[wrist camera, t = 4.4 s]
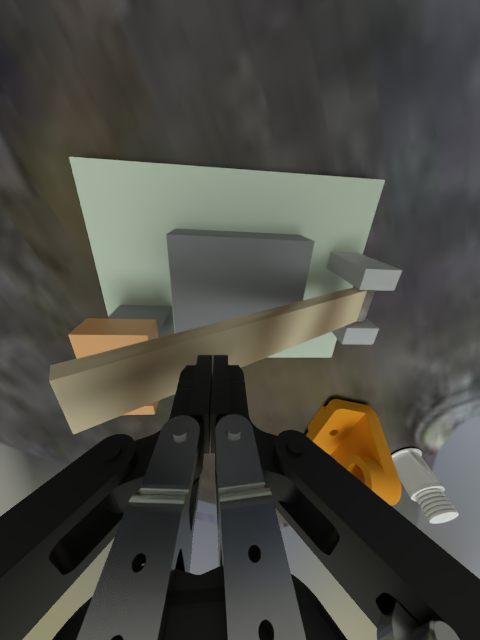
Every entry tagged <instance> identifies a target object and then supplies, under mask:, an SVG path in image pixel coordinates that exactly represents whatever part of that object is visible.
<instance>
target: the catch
mask: <svg viewBox="0 0 480 640" xmlns="http://www.w3.org/2000/svg"><path fill="white" fill-rule="evenodd" d="M68 335H69V338H70V341H71V344H72V346H73V349H74V352H75V355H76V358H77V359H78V358H82V357H86V356H90V355H94V354H97V353H101V352H105V351H109V350H113V349H117V348H121V347H125V346H128V345H132V344H136V343H140V342H144V341H148V340H152V339H156V338H159V336H158V328H157V321H156V320H154V319H91V318H87V319H86V320H84V321H83V322H82V323H81V324H80V325H79V326H78V327H76V328H75V329H74V330H73V331H72V332H71V333H70V334H68ZM158 403H159V400H158V401H156V402H153V403H151V404H148V405H146V406H143V407H141V408H138V409H136V410H133V411H131V412H128V413H126V414H123V415H144V414H155V412H156V409H157V406H158Z"/></svg>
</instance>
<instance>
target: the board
mask: <svg viewBox="0 0 480 640" xmlns="http://www.w3.org/2000/svg"><path fill="white" fill-rule="evenodd" d="M69 159H70V163H71V167H72V171H73V175H74V179H75V183H76V187H77V192H78V196H79V200H80V204H81V208H82V212H83V216H84V220H85V224H86V228H87V232H88V236H89V240H90V244H91V248H92V252H93V257H94V261H95V265H96V269H97V273H98V277H99V281H100V285H101V289H102V293H103V297H104V301H105V305H106V309H107V313H108V318H107V319H154V320H156V321H157V328H158V336H159V337H163V336H167V335H171V334H175V333H179V332H183V331H186V330H190V329H194V328H198V327H202V326H206V325H210V324H214V323H217V322H221V321H225V320H229V319H233V318H237V317H241V316H245V315H248V314H252V313H256V312H260V311H264V310H268V309H272V308H276V307H279V306H283V305H287V304H291V303H295V302H299V301H303V300H307V299H310V298H314V297H318V296H322V295H326V294H330V293H334V292H337V291H341V290H345V289H349V288H353V286H355V287H356V288H358V289H359V290H387V291H394V290H395V287H396V285H397V282H398V280H399V277H400V275H401V272H402V270H400V269H398V268H395V267H393V266H390V265H388V264H385V263H382V262H380V261H377V260H375V259H372V258H370V257H367V256H365V255H363V251H364V248H365V245H366V241H367V238H368V235H369V232H370V228H371V225H372V222H373V218H374V215H375V212H376V209H377V205H378V202H379V199H380V195H381V192H382V189H383V185H384V182H385V180H379V179H365V178H352V177H338V176H324V175H311V174H297V173H284V172H270V171H257V170H243V169H229V168H216V167H202V166H189V165H175V164H161V163H148V162H134V161H121V160H107V159H94V158H80V157H69ZM378 330H379V328H378V327H377V326H375V325H374V324H373V323H372V322H370V321H369V320H368V319H367V318H365V321H362V322H358V321H356V322H354V323H351V324H349V325H346V326H344V327H341V328H339V329H336V330H334V331H331V332H329V333H326V334H324V335H321V336H319V337H316V338H314V339H311V340H309V341H306V342H304V343H301V344H299V345H296V346H294V347H291V348H289V349H286V350H284V351H281V352H279V353H276V354H274V355H271V356H269V357H332V354H333V350H334V347H335V344H336V340H337V339H338V340H339V341H340V342H341V344H373V343H374V340H375V338H376V335H377V333H378Z"/></svg>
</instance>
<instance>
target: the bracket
mask: <svg viewBox="0 0 480 640" xmlns="http://www.w3.org/2000/svg"><path fill="white" fill-rule="evenodd" d="M307 428H308V430H309V431H308V433H307V434H306V436H307V437H308V438H309V439H310V440H312V441H313V442H314V443H315V444H317V445H318V446H319V447H320V448H321V449H323V450H324V451H325V452H326V453H327V454H331V455H332V456H333V457H334V459H335V460H336V461H337V462H338V463H340V464H341V465H342V466H343V467H344V468H346V469H347V470H348V471H349V472H350V473H352V474H353V475H354V476H355V477H356V478H358V479H359V480H360V481H361V482H363V483H364V484H365V485H366V486H367V487H369V488H370V489H371V490H372V491H373V492H375V493H376V494H377V495H378V496H379V497H381V498H382V499H383V500H384V501H386V502H387V503H388V504H389V505H395V504H396V503H397V502H398V501H399V499H400V497H401V483H400V479H399V476H398V473H397V471H396V468H395V465H394V462H393V459H392V456H391V453H390V451H389V448H388V445H387V442H386V439H385V436H384V433H383V431H382V428H381V425H380V422H379V419H378V416H377V415H376V413H375V412H374V410H373V409H372V408H371V406H368V405H364V404H359V403H354V402H349V401H345V400H340V399H333V400H331V401H330V402H329V403H328V405H327V406H324V405H322V407H321V408H320V409H319V411H318V412H317V414H316V415H315V417H314V418H313V419H312V421H311V422H310V424H309V425H308V427H307Z"/></svg>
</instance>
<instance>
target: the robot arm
mask: <svg viewBox="0 0 480 640" xmlns="http://www.w3.org/2000/svg"><path fill="white" fill-rule="evenodd" d="M210 427H211V453H215V486H216V508H217V529H218V563H219V567H217V568H215V569H213V570H211V571H209V572H206V573H204V574H202V575H194V574H191V573H189V571H190V564H191V554H192V540H193V531H194V524H195V517H196V510H197V503H198V496H199V489H200V482H201V474H202V469H203V458H204V453H209V447H210ZM275 508H276V509H277V510H278V511H279V513H280V514H281V515H282V516H283V517H284V518H285V520H286V521H287V522H288V523H289V524H290V526H291V527H292V528H293V529H294V530H295V531H296V533H297V534H298V535H299V536H300V537H301V538H302V540H303V541H304V542H305V543H306V544H307V546H308V547H309V548H310V549H311V550H312V551H313V553H314V554H315V555H316V556H317V557H318V559H319V560H320V561H321V562H322V563H323V565H324V566H325V567H326V568H327V569H328V570H329V572H330V573H331V574H332V575H333V576H334V578H335V579H336V580H337V581H338V582H339V584H340V585H341V586H342V587H343V588H344V589H345V591H346V592H347V593H348V594H349V595H350V597H351V598H352V599H353V600H354V601H355V602H356V604H357V605H358V606H359V607H360V608H361V610H362V611H363V612H364V613H365V614H366V615H367V617H368V618H369V619H370V620H371V621H372V623H373V624H374V625H375V626H376V627H377V640H480V579H479V578H478V577H476V576H475V575H474V574H473V573H471V572H470V571H469V570H468V569H467V568H465V567H464V566H463V565H462V564H461V563H459V562H458V561H457V560H456V559H454V558H453V557H452V556H451V555H450V554H448V553H447V552H446V551H445V550H444V549H442V548H441V547H440V546H439V545H437V544H436V543H435V542H434V541H433V540H432V539H430V538H429V537H428V536H427V535H425V534H424V533H423V532H422V531H421V530H419V529H418V528H417V527H416V526H415V525H413V524H412V523H411V522H410V521H409V520H407V519H406V518H405V517H404V516H402V515H401V514H400V513H399V512H398V511H396V510H395V509H394V508H393V507H392V506H390V505H389V504H388V503H387V502H386V501H384V500H383V499H382V498H381V497H379V496H378V495H377V494H376V493H375V492H373V491H372V490H371V489H370V488H369V487H367V486H366V485H365V484H364V483H363V482H361V481H360V480H359V479H358V478H356V477H355V476H354V475H353V474H352V473H350V472H349V471H348V470H347V469H346V468H344V467H343V466H342V465H341V464H340V463H338V462H337V461H336V460H335V459H333V458H332V457H331V456H330V455H329V454H327V453H326V452H325V451H324V450H323V449H321V448H320V447H319V446H318V445H317V444H315V443H314V442H313V441H312V440H310V439H309V438H308V437H307V436H306V435H304V434H303V433H301V432H298V431H295V430H286V431H283V432H281V433H280V434H279V435H278V436H276V435H273V434H269V433H266V432H263V431H261V430H259V429H258V428H256V427H255V426H254V425H253V423H252V422H251V420H250V418H249V413H248V405H247V397H246V389H245V382H244V373H243V371H242V369H241V368H240V367H239V365H228V355H214V357H213V356H212V355H198V357H197V363H196V365H186V367H185V368H184V369H183V370H182V371H181V373H180V377H179V382H178V385H177V390H176V394H175V398H174V402H173V406H172V411H171V415H170V418H169V420H168V421H167V422H166V423H165V424H164V426H163V427H162V429H161V430H160V431H158V432H157V433H155V434H153V435H151V436H148V437H145V438H142V439H139V440H136V441H134V440H133V439H132V437H130V436H128V435H125V434H116V435H112V436H110V437H107V438H105V439H104V440H102V441H101V442H99V443H98V444H97V445H95V446H94V447H93V448H91V449H90V450H89V451H87V452H86V453H85V454H83V455H82V456H81V457H79V458H78V459H77V460H75V461H74V462H73V463H71V464H70V465H69V466H67V467H66V468H65V469H63V470H62V471H61V472H59V473H58V474H57V475H55V476H54V477H53V478H51V479H50V480H49V481H47V482H46V483H44V484H43V485H42V486H40V487H39V488H38V489H37V490H35V491H34V492H33V493H31V494H30V495H28V496H27V497H26V498H25V499H23V500H22V501H20V502H19V503H18V504H16V505H15V506H14V507H12V508H11V509H10V510H9V511H7V512H6V513H4V514H3V515H2V516H1V517H0V640H22V639H23V638H24V637H25V636H26V635H27V634H28V633H29V631H30V630H31V629H32V628H33V627H34V626H35V625H36V624H37V623H38V621H39V620H40V619H41V618H42V617H43V616H44V615H45V614H46V612H48V610H49V609H50V608H51V607H52V606H53V605H54V604H55V603H56V601H57V600H58V599H59V598H60V597H61V596H62V595H63V593H65V591H66V590H67V589H68V588H69V587H70V586H71V585H72V584H73V583H74V582H75V580H76V579H77V578H78V577H79V576H80V575H81V574H82V573H83V572H84V570H85V569H86V568H87V567H88V566H89V565H90V564H91V563H92V562H93V560H94V559H95V558H96V557H97V556H98V555H99V554H100V553H101V552H102V550H103V549H104V548H105V547H106V546H107V545H108V544H109V543H110V542H111V541H112V539H113V538H114V537H115V538H114V541H113V543H112V546H111V549H110V551H109V554H108V557H107V559H106V562H105V565H104V567H103V570H102V573H101V576H100V578H99V581H98V583H97V586H96V589H95V591H94V594H93V596H92V597H91V598H90V599H89V600H88V601H87V602H86V603H85V604H83V605H82V606H81V607H80V608H79V609H78V610H77V611H76V612H75V613H74V615H73V616H72V617H71V618H70V619H69V620H68V621H67V622H66V623H65V624H64V626H63V627H62V628H61V629H60V631H59V632H58V633H57V634H56V636H55V637H54V638H53V639H52V640H347V639H346V637H345V636H344V634H343V633H342V632H341V630H340V629H339V628H338V626H337V625H336V623H335V622H334V621H333V619H332V618H331V616H330V615H329V614H328V612H327V611H326V609H325V608H324V607H323V605H322V604H321V603H320V601H319V600H318V599H317V597H316V596H315V595H314V594H313V593H312V592H311V591H310V589H309V588H308V587H307V586H306V585H305V584H304V583H302V582H301V581H300V580H299V579H298V578H296V577H295V576H294V575H292V574H291V573H290V568H289V564H288V560H287V555H286V551H285V547H284V543H283V539H282V534H281V530H280V526H279V521H278V517H277V513H276V509H275Z"/></svg>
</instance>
